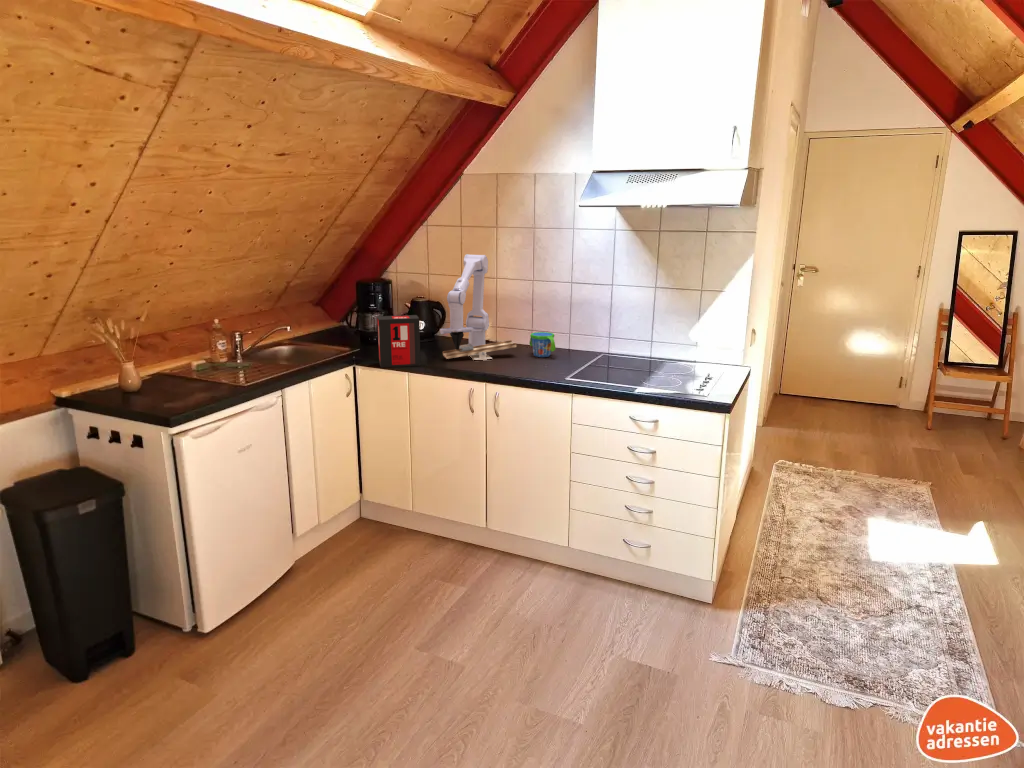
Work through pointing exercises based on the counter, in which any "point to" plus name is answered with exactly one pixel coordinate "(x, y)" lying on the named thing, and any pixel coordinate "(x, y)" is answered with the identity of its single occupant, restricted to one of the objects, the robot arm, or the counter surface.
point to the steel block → (466, 347)
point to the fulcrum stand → (480, 356)
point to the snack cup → (542, 343)
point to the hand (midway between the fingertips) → (456, 349)
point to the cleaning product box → (399, 340)
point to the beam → (480, 349)
